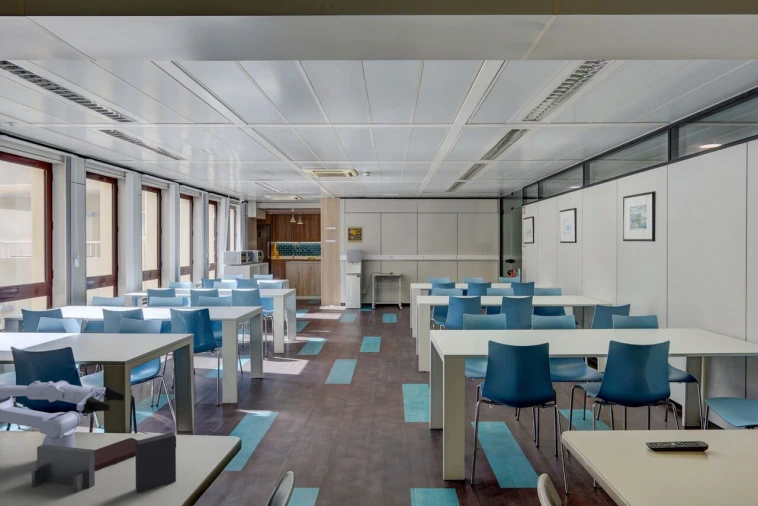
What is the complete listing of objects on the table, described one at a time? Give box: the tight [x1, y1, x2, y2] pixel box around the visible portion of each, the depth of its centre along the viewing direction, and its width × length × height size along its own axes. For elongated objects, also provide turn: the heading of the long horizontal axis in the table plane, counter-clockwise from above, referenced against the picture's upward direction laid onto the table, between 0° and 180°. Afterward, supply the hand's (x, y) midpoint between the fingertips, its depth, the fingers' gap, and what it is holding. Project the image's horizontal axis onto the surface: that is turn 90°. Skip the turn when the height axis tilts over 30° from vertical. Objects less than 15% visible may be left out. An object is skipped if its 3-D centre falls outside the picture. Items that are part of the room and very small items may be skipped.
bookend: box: [31, 444, 96, 493], centre depth 142 cm, size 20×5×11 cm, turn 77°
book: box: [94, 437, 139, 472], centre depth 162 cm, size 12×19×3 cm, turn 145°
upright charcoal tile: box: [134, 432, 177, 494], centre depth 142 cm, size 11×4×15 cm, turn 128°
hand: (116, 402), depth 159 cm, fingers open, 7 cm apart
